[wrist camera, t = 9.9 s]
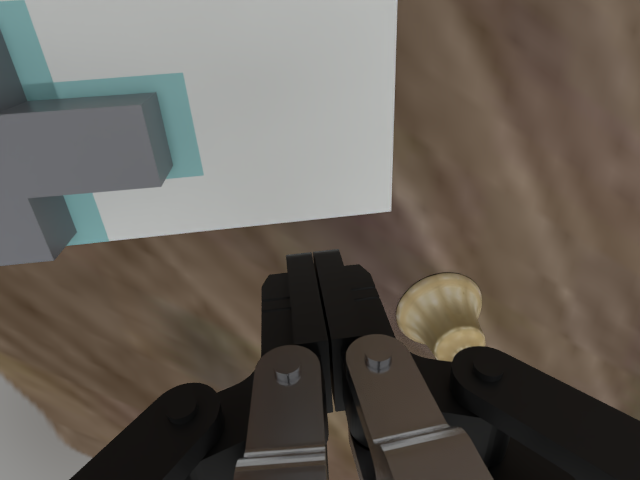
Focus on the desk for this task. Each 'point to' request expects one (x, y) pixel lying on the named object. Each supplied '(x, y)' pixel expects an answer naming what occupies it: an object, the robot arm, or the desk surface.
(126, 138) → the t block
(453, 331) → the hand bell
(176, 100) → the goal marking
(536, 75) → the desk surface
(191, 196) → the runner mat
